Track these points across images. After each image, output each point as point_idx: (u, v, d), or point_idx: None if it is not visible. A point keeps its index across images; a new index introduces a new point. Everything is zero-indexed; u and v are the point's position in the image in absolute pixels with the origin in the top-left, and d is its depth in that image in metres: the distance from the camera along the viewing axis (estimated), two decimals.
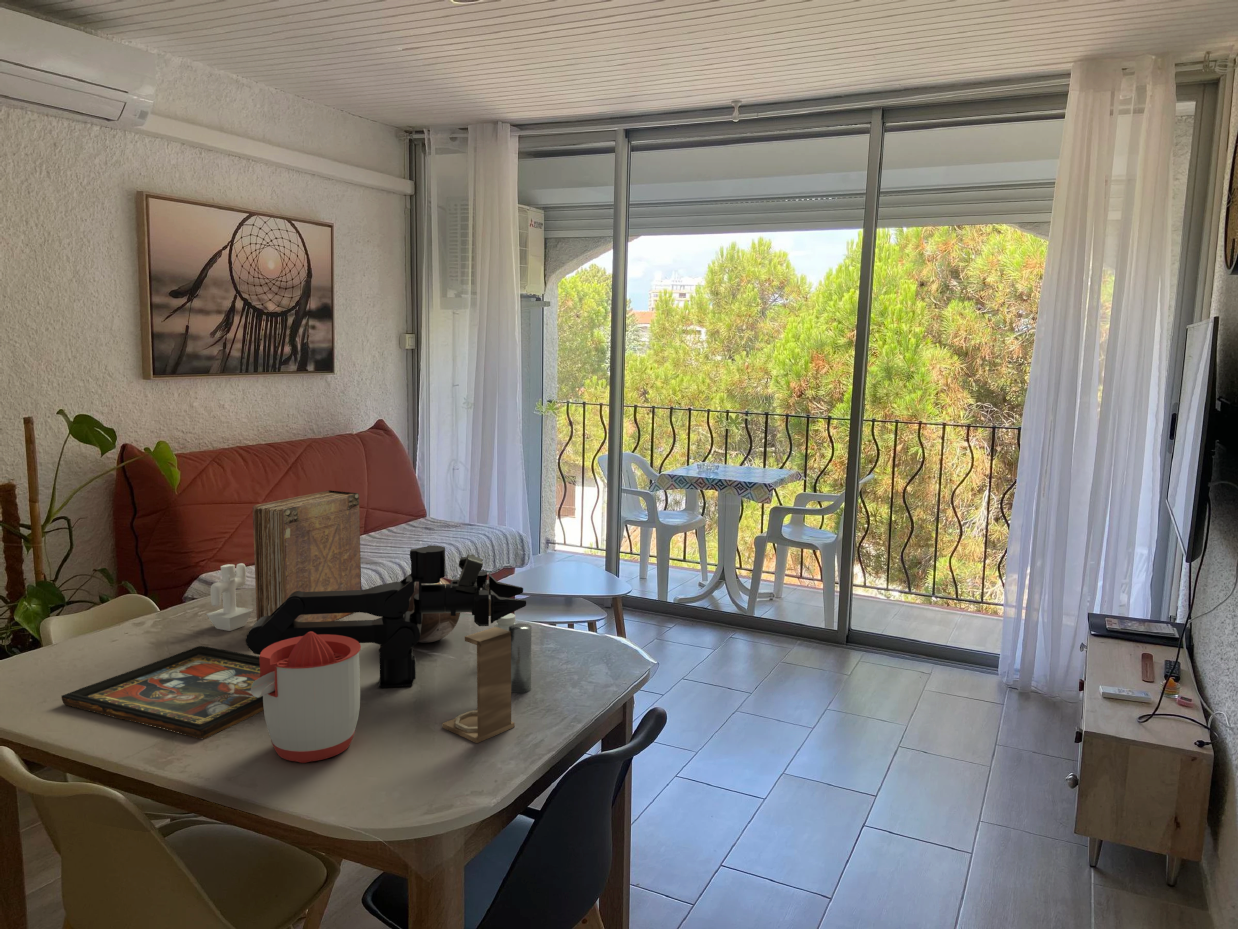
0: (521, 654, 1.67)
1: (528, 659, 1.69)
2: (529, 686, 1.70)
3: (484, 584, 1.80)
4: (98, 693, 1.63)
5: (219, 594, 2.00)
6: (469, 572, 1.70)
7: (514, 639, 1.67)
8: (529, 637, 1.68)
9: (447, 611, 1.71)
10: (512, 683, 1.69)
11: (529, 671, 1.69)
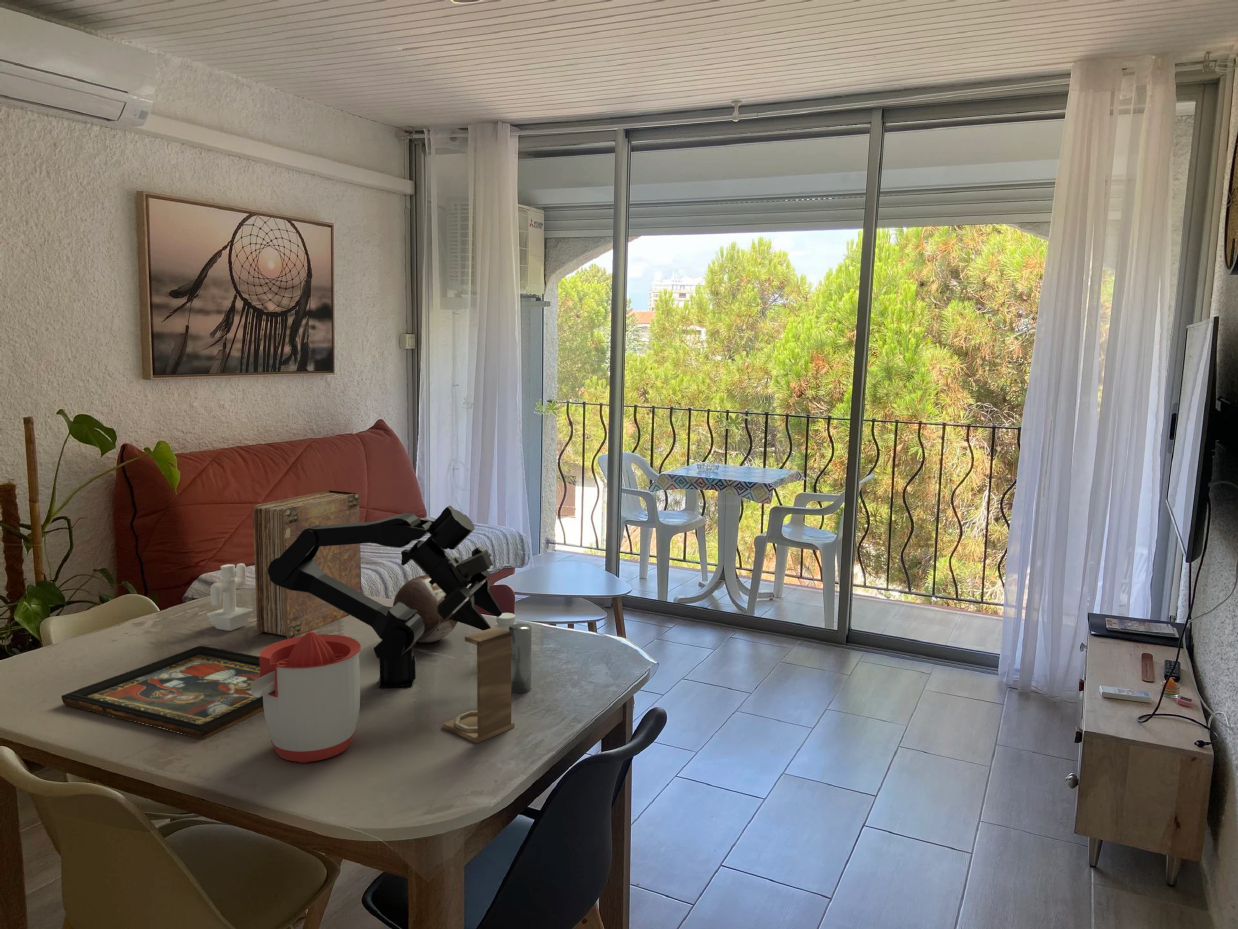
0: (521, 654, 1.67)
1: (528, 659, 1.69)
2: (529, 686, 1.70)
3: (478, 582, 1.75)
4: (98, 693, 1.63)
5: (219, 594, 2.00)
6: (472, 565, 1.66)
7: (514, 639, 1.67)
8: (529, 637, 1.68)
9: (429, 576, 1.68)
10: (512, 683, 1.69)
11: (529, 671, 1.69)
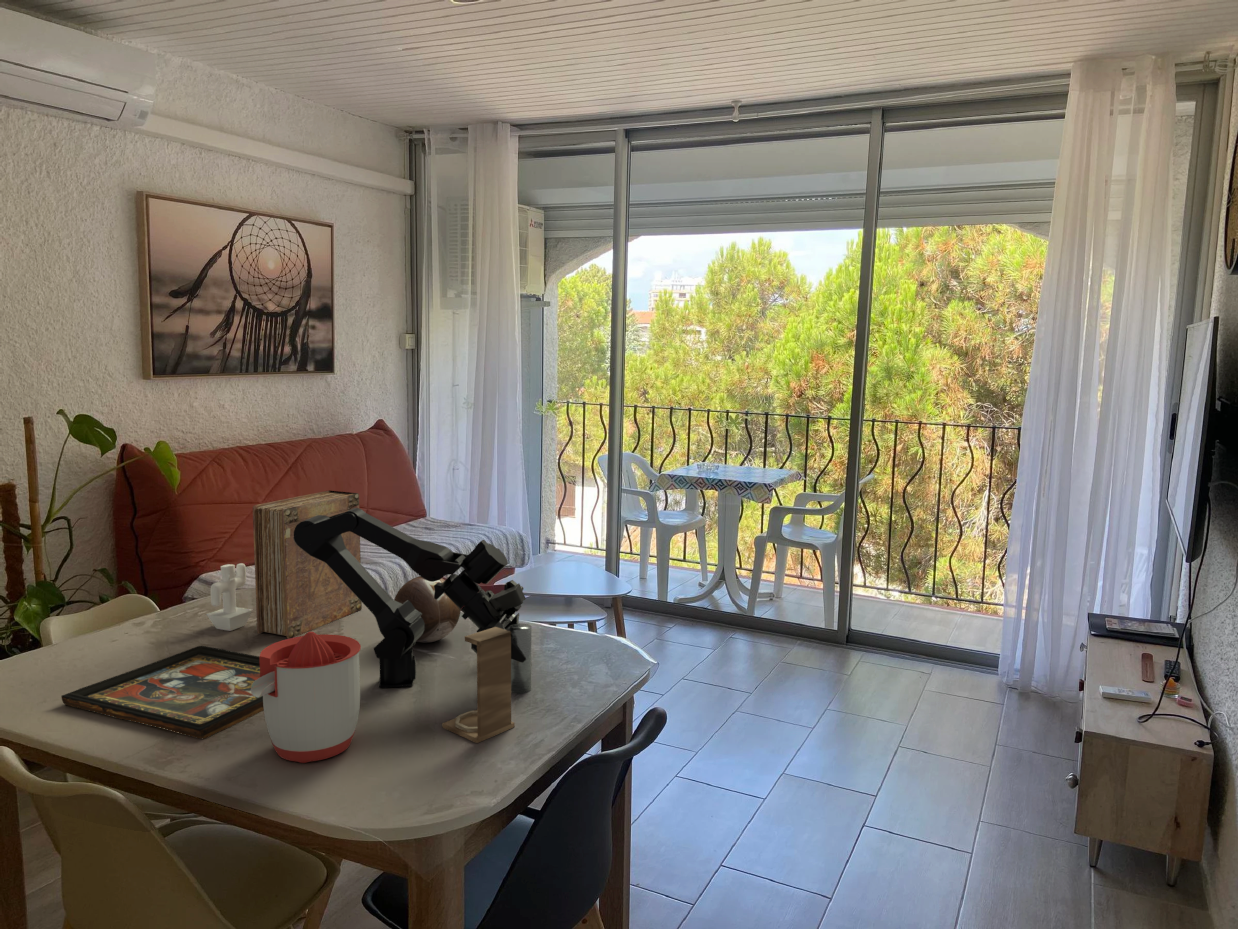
0: None
1: (528, 659, 1.69)
2: (529, 686, 1.70)
3: (507, 618, 1.73)
4: (98, 693, 1.63)
5: (219, 594, 2.00)
6: (505, 600, 1.66)
7: (514, 639, 1.67)
8: (529, 637, 1.68)
9: (462, 610, 1.68)
10: (512, 683, 1.69)
11: (529, 671, 1.69)
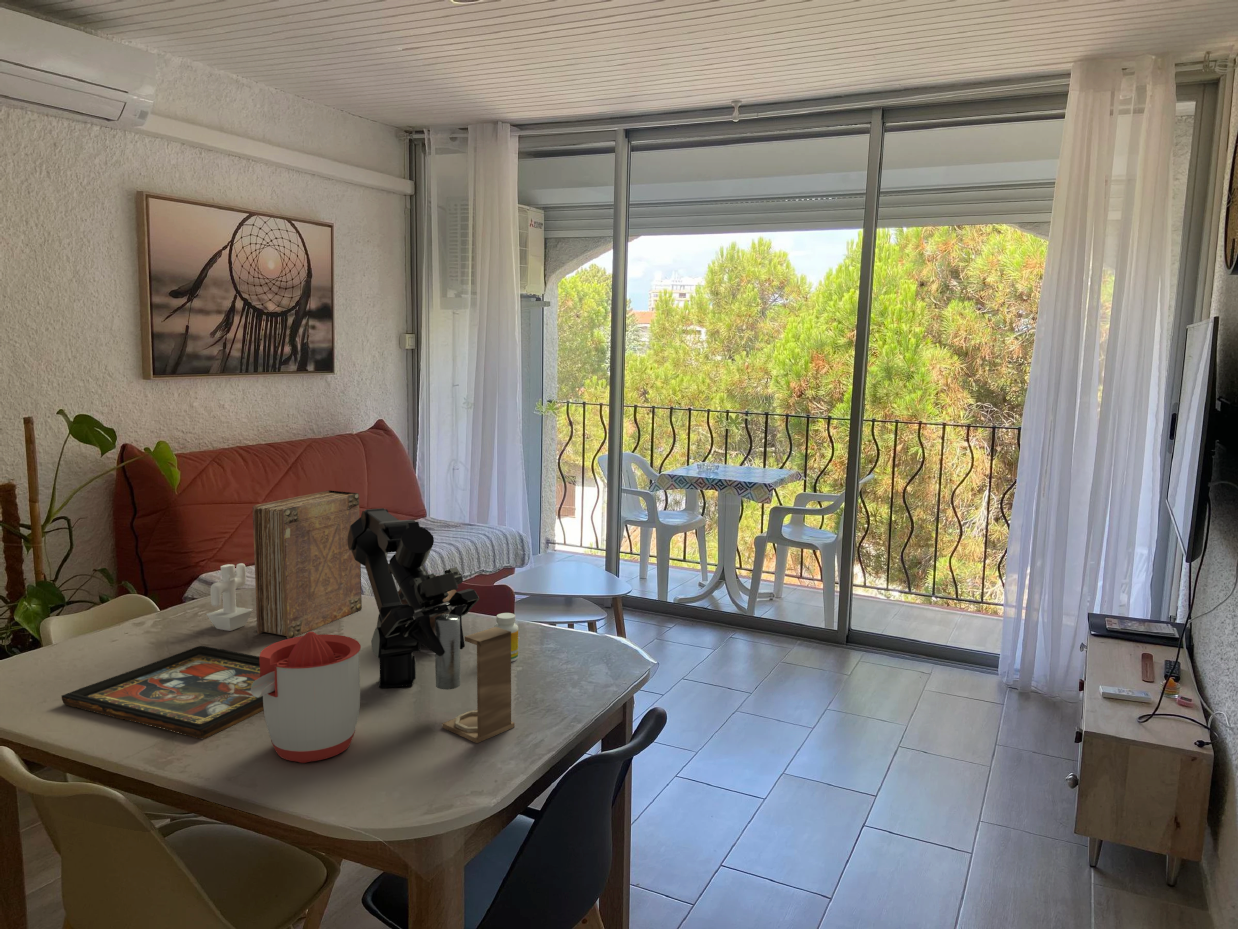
0: None
1: (449, 654, 1.55)
2: (451, 684, 1.56)
3: (452, 607, 1.61)
4: (98, 693, 1.63)
5: (219, 594, 2.00)
6: (428, 586, 1.55)
7: (436, 629, 1.55)
8: (451, 630, 1.54)
9: None
10: None
11: (451, 667, 1.55)
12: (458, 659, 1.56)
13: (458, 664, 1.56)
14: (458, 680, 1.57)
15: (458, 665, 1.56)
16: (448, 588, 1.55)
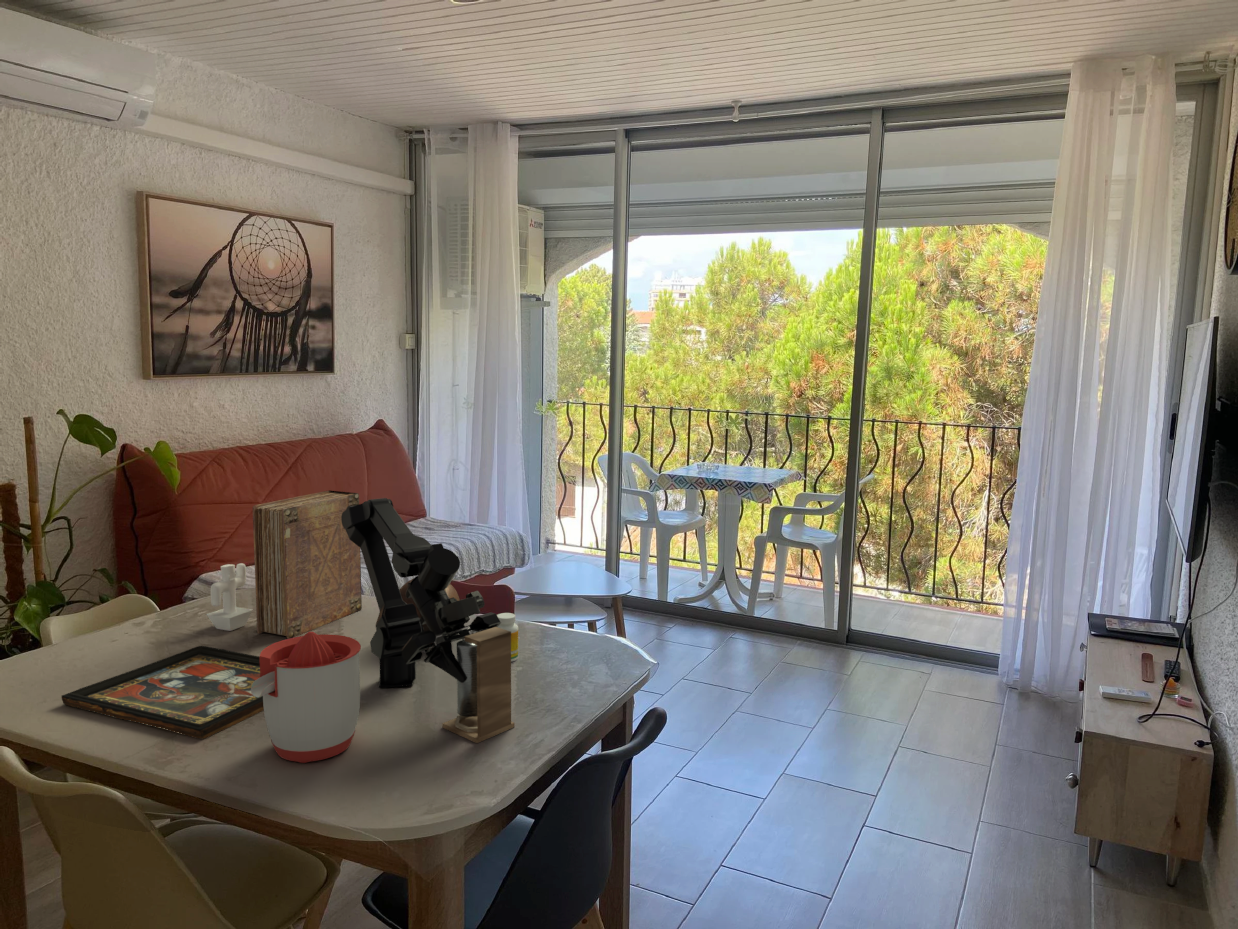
0: None
1: (472, 681, 1.51)
2: (474, 711, 1.52)
3: (473, 631, 1.58)
4: (98, 693, 1.63)
5: (219, 594, 2.00)
6: (449, 611, 1.51)
7: (457, 655, 1.51)
8: (473, 656, 1.51)
9: None
10: (457, 703, 1.53)
11: (474, 694, 1.52)
12: None
13: None
14: None
15: None
16: (470, 613, 1.51)
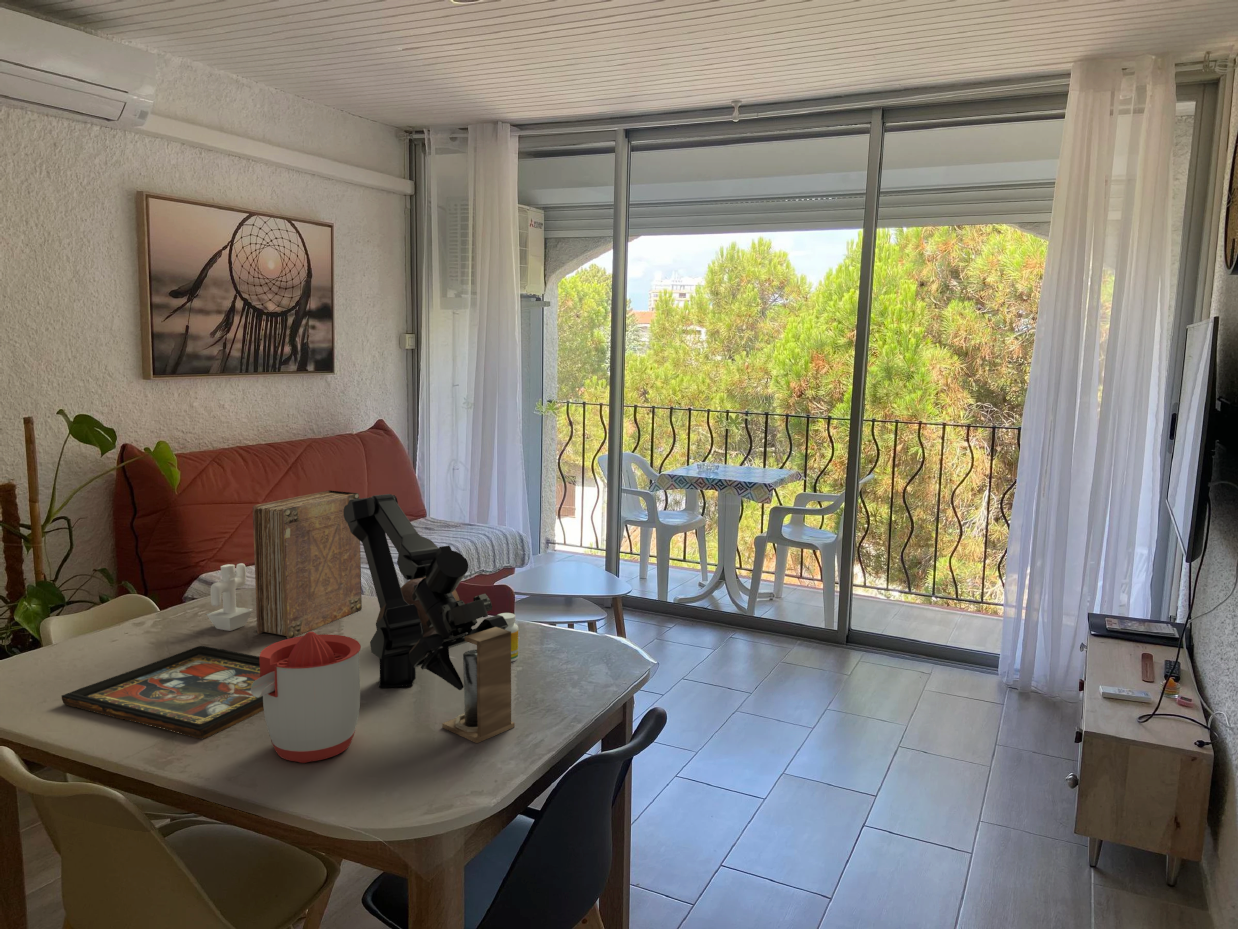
0: (469, 684, 1.50)
1: None
2: None
3: None
4: (98, 693, 1.63)
5: (219, 594, 2.00)
6: (457, 614, 1.50)
7: (464, 666, 1.50)
8: None
9: None
10: None
11: None
12: None
13: None
14: None
15: None
16: (478, 616, 1.50)
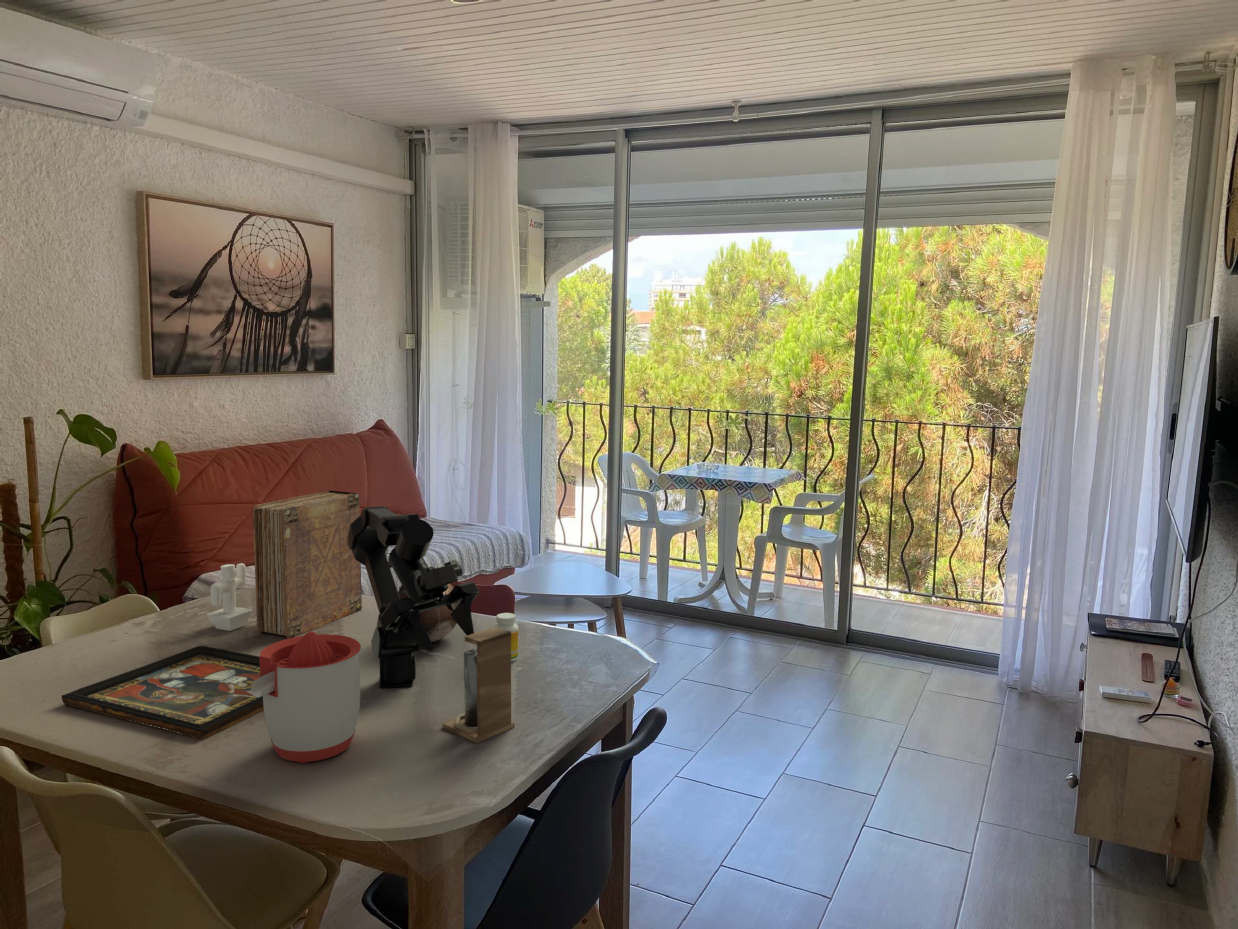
0: (470, 683, 1.50)
1: None
2: None
3: (461, 597, 1.63)
4: (98, 693, 1.63)
5: (219, 594, 2.00)
6: (428, 578, 1.55)
7: (465, 665, 1.51)
8: None
9: None
10: None
11: None
12: None
13: None
14: None
15: None
16: (448, 580, 1.54)
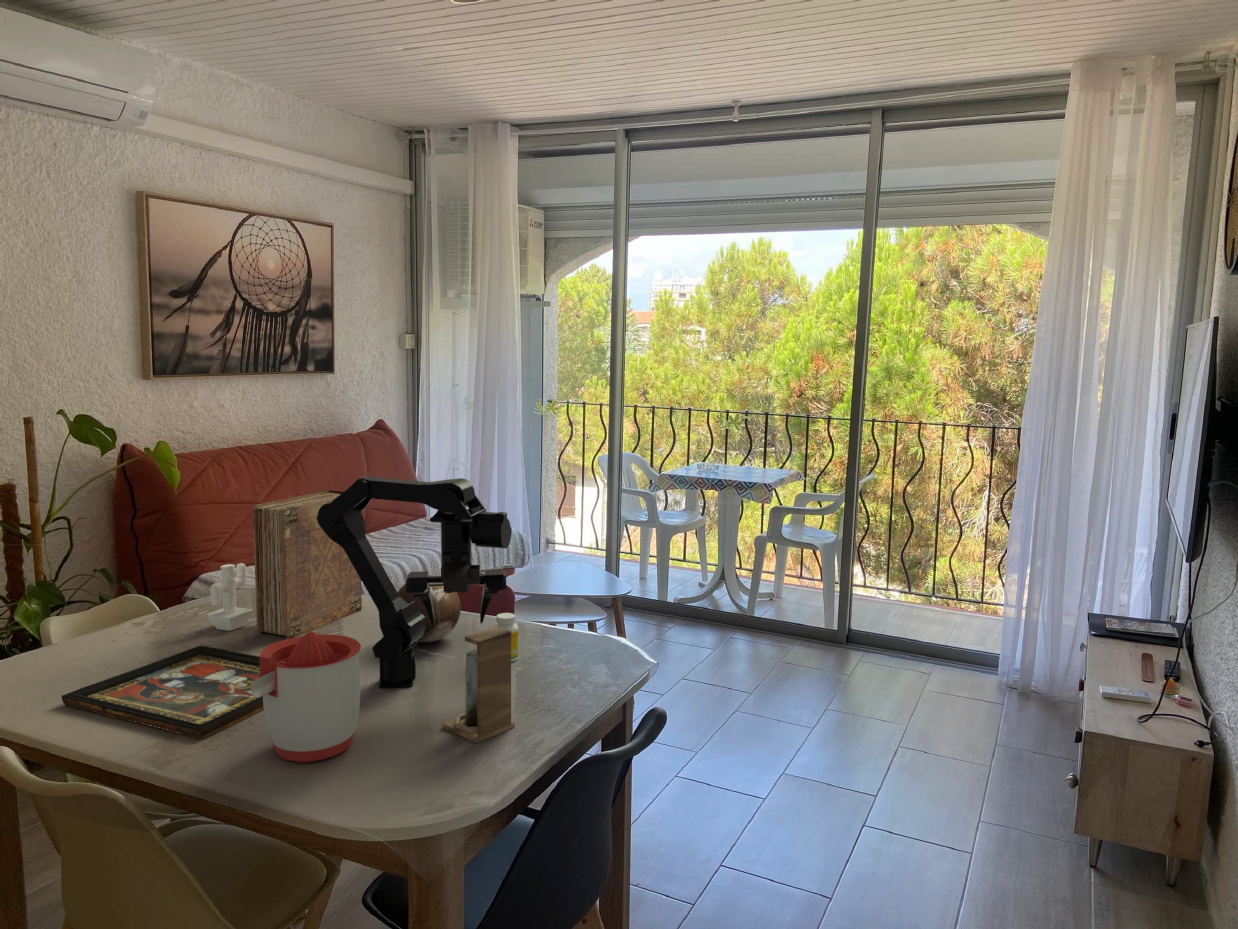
0: (472, 684, 1.50)
1: None
2: None
3: None
4: (98, 693, 1.63)
5: (219, 594, 2.00)
6: None
7: (467, 666, 1.50)
8: None
9: None
10: (465, 714, 1.52)
11: None
12: None
13: None
14: None
15: None
16: (455, 591, 1.60)
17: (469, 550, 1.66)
